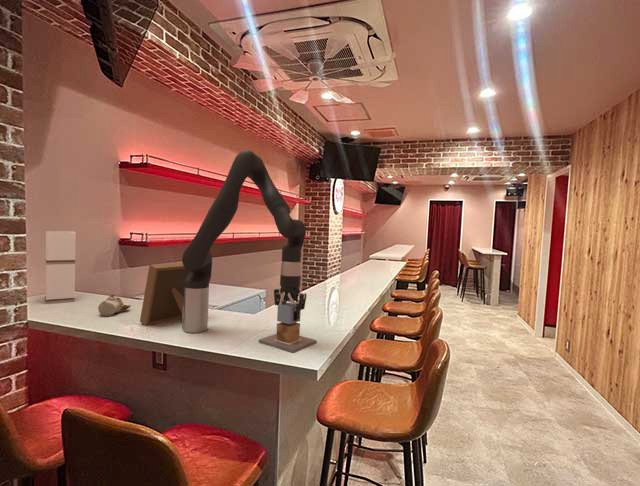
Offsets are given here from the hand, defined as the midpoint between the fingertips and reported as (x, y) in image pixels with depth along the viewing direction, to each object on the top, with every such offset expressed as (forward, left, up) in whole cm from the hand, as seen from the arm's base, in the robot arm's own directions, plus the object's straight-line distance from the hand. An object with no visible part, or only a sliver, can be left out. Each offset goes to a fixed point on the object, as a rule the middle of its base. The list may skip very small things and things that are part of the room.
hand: (288, 319), depth 127 cm
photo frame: (-53, -12, -9) cm, 55 cm away
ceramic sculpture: (-84, -23, -9) cm, 88 cm away
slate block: (0, 0, -1) cm, 1 cm away
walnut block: (0, 0, -8) cm, 8 cm away
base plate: (0, 0, -9) cm, 9 cm away
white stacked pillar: (-126, -29, -9) cm, 130 cm away
